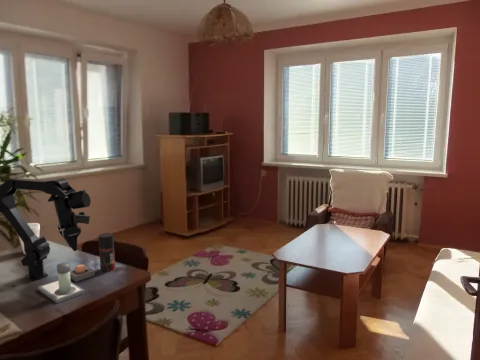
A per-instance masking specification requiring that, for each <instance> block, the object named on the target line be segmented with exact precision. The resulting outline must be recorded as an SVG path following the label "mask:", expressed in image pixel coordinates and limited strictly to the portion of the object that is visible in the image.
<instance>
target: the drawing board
mask: <svg viewBox="0 0 480 360" xmlns="http://www.w3.org/2000/svg"><path fill="white" fill-rule="evenodd" d="M37 290H38V291H39V292H40V293H42V294H43V295H45V296H46V297H48V298H49V299H51V300H52V301H54V302H55V303H56V304H59V303H62V302H64V301H67V300H70V299H73V298H76V297H78V296H81V295H83V294H86V292H85V289H83V288H82V287H80V286H79V285H77V284H75V283H73V282H72V281H71V291H70V292H67V293H60V292H59V283H58V279H57V280H54V281H51V282H48V283H45V284H43V285H38V287H37Z"/></svg>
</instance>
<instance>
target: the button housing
mask: <svg viewBox="0 0 480 360" xmlns="http://www.w3.org/2000/svg"><path fill="white" fill-rule="evenodd" d="M85 268H86V272H84V273H81V274H76V273H75V268H73V269H70V279H71V280H72V281H73V282H79V281H82V280H85V279H88V278H91V277H94V276H95V275H96V274H95V273H96V271H95V270H94V269H92V268H90V267H89V266H86V265H85Z"/></svg>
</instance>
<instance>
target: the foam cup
mask: <svg viewBox="0 0 480 360" xmlns="http://www.w3.org/2000/svg"><path fill="white" fill-rule="evenodd" d="M27 224H28V225H29V227H30V228H31V230H32V231H33V232H34V234H35V235H36V236H37V237H39V238H40V231H41V230H40V229H41V226H40V225H41V224H40V223H38V222H29V223H27ZM18 237H19V236H18ZM18 239H19V242H20V245H21V246H20V247H21V248H22V253H23V254H24V255H26V253H25V251H24V243H23V241H22V240H21V238H20V237H19V238H18Z"/></svg>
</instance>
